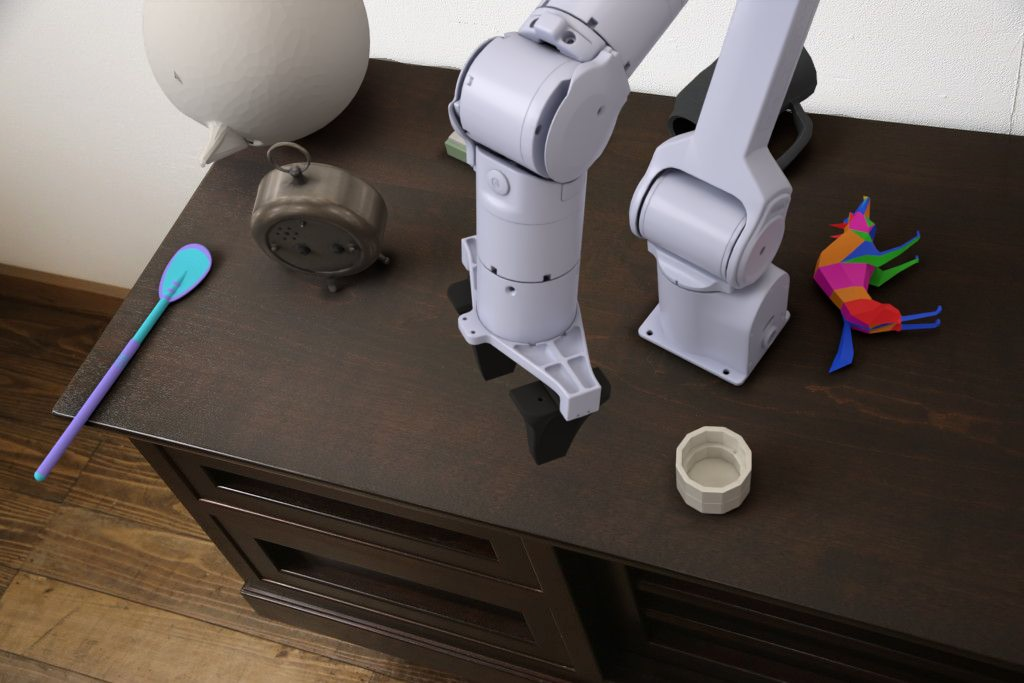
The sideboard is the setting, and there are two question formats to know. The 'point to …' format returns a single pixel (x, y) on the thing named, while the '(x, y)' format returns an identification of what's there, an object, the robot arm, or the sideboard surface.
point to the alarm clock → (318, 219)
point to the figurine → (861, 281)
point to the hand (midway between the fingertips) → (522, 413)
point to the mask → (257, 65)
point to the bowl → (713, 469)
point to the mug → (798, 91)
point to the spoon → (137, 338)
